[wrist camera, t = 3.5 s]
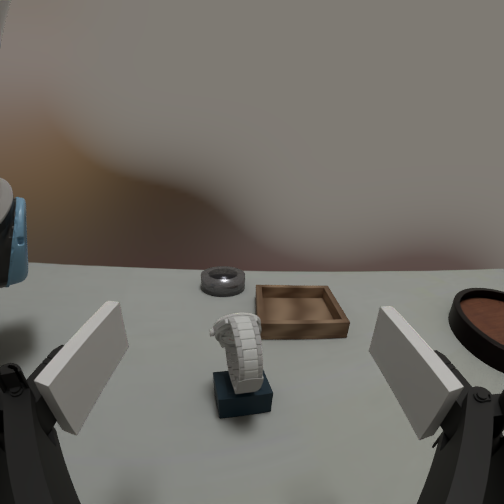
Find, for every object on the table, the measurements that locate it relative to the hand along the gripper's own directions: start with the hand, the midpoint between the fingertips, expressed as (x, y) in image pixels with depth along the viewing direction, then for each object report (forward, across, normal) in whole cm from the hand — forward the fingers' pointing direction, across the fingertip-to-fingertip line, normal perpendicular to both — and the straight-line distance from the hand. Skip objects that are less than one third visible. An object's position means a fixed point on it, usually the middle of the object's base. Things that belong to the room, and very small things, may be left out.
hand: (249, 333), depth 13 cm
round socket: (+42, -5, -16) cm, 45 cm away
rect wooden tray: (+30, +8, -16) cm, 35 cm away
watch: (+10, -1, -16) cm, 20 cm away
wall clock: (+16, +52, -17) cm, 57 cm away
